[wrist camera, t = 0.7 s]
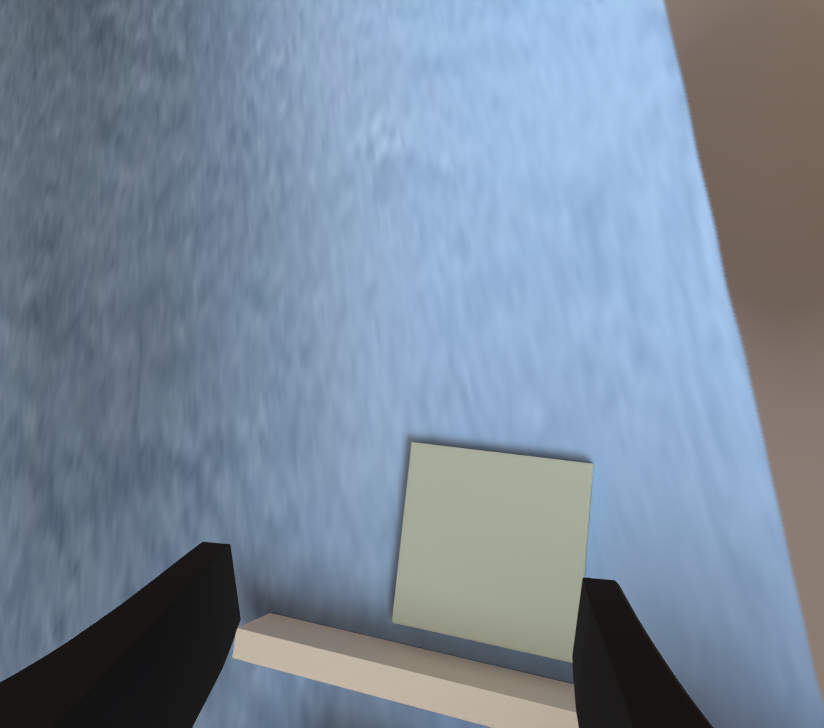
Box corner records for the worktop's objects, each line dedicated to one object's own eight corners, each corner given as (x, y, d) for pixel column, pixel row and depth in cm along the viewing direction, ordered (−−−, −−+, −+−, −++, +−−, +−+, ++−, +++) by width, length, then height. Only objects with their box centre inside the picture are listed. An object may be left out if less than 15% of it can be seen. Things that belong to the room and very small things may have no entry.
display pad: (577, 660, 32) (576, 663, 32) (395, 619, 36) (391, 622, 35) (593, 463, 33) (592, 463, 33) (414, 442, 37) (411, 442, 36)
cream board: (657, 738, 31) (660, 772, 28) (266, 640, 38) (232, 657, 35) (659, 704, 31) (662, 734, 28) (270, 612, 38) (236, 627, 35)
